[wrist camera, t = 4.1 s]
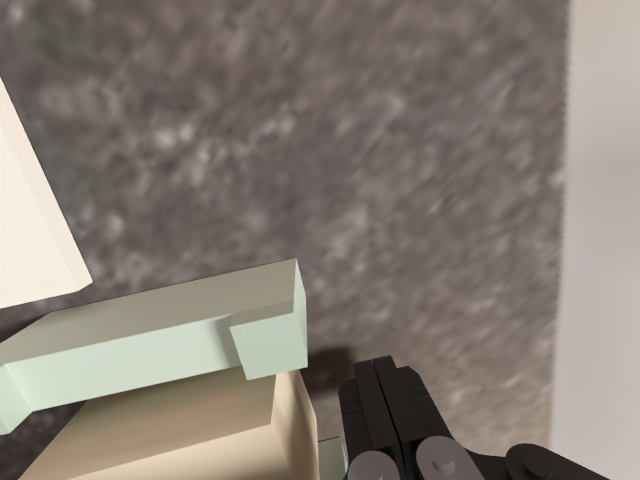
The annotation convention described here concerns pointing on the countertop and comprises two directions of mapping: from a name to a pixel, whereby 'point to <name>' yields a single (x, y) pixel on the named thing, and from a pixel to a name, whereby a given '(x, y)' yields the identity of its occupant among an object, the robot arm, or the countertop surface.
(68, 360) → the rails
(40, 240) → the plate
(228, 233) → the countertop surface
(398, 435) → the robot arm
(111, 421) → the block
